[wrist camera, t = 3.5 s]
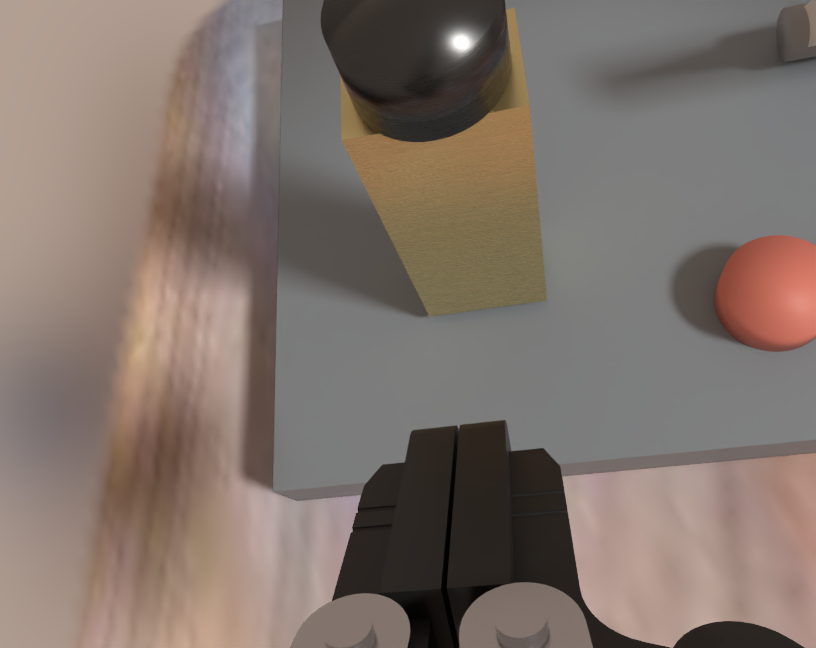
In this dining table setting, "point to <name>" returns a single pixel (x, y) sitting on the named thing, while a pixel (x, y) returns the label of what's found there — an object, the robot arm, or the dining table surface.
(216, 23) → the dining table surface
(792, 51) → the cream rectangular block
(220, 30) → the dining table surface
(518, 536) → the robot arm
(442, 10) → the slide lever
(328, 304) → the control board
